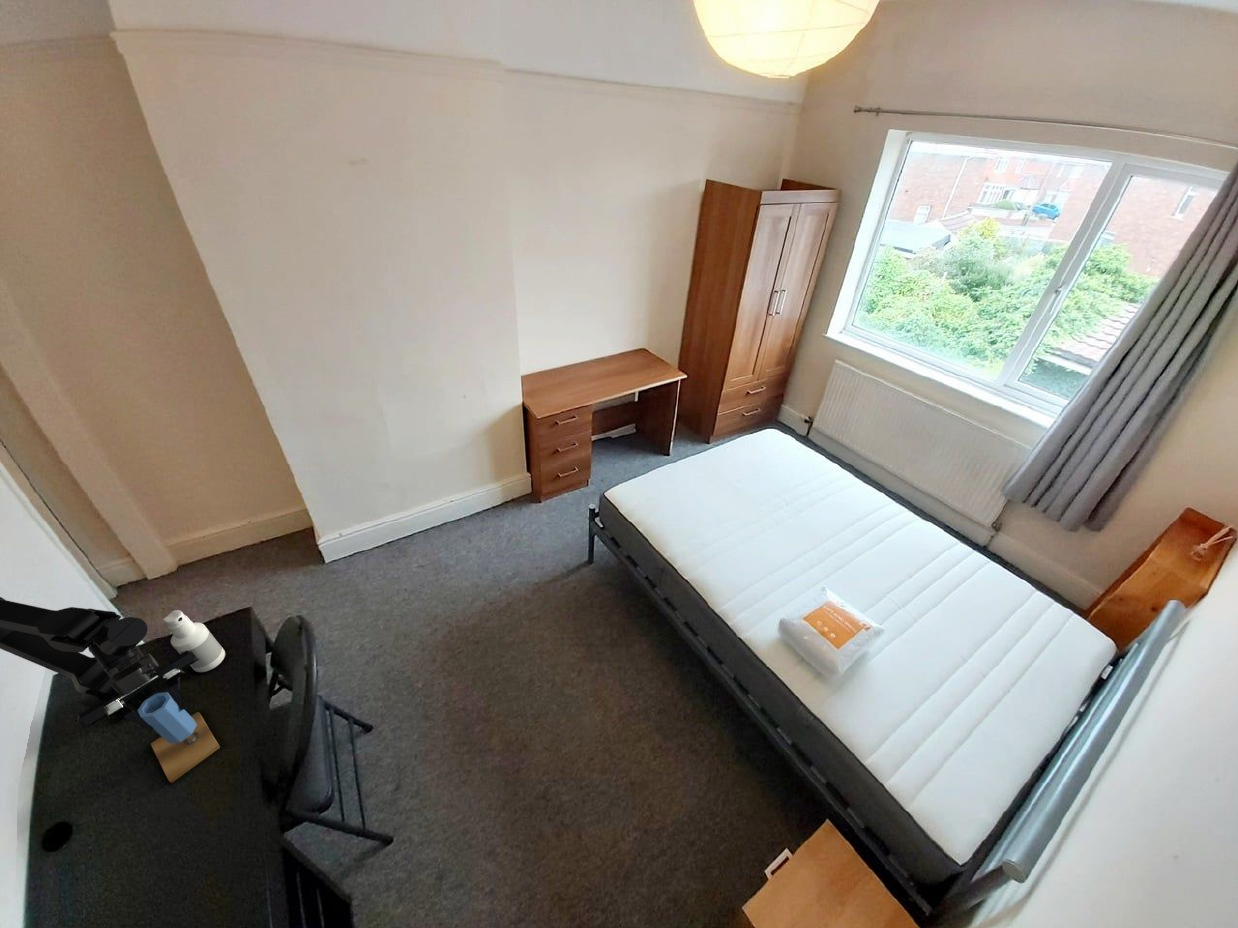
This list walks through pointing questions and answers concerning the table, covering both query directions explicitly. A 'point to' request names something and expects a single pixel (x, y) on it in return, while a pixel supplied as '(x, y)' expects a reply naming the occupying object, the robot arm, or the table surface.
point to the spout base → (185, 750)
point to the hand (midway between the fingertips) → (167, 719)
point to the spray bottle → (194, 641)
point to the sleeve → (167, 717)
